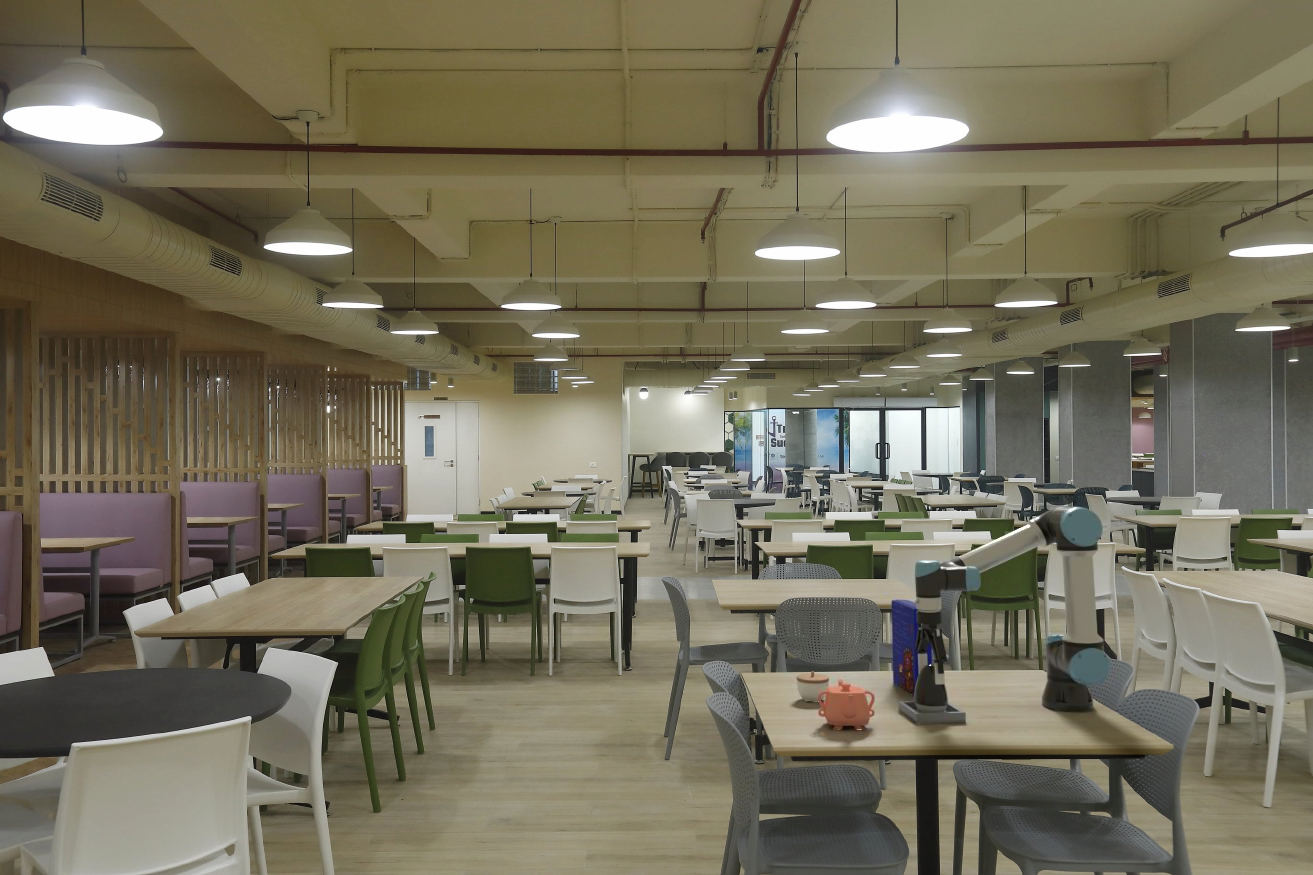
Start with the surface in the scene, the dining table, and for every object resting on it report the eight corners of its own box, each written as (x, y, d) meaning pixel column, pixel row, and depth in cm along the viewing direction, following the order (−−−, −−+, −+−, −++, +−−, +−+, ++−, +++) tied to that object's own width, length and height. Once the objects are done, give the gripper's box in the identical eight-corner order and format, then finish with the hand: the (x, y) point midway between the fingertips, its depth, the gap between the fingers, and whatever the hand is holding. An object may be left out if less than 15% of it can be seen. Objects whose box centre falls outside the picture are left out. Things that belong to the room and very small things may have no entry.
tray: (945, 709, 288) (945, 699, 288) (965, 722, 273) (965, 712, 273) (898, 710, 287) (898, 701, 287) (916, 724, 271) (916, 713, 271)
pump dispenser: (956, 716, 277) (955, 666, 278) (928, 719, 273) (927, 668, 274) (934, 708, 286) (933, 660, 287) (907, 711, 282) (906, 662, 283)
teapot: (852, 736, 259) (851, 692, 260) (808, 724, 272) (807, 682, 273) (884, 727, 269) (883, 684, 269) (840, 715, 281) (839, 675, 282)
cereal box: (932, 696, 304) (930, 607, 306) (915, 697, 304) (913, 608, 305) (909, 682, 326) (907, 599, 327) (893, 682, 326) (891, 599, 327)
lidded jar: (829, 704, 296) (829, 675, 296) (796, 703, 298) (796, 674, 298) (828, 696, 306) (828, 668, 307) (796, 695, 308) (796, 667, 308)
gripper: (903, 605, 293) (905, 671, 292) (932, 616, 268) (935, 688, 267) (925, 604, 294) (927, 670, 293) (956, 615, 269) (959, 687, 268)
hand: (931, 679), depth 280 cm, fingers open, 13 cm apart
